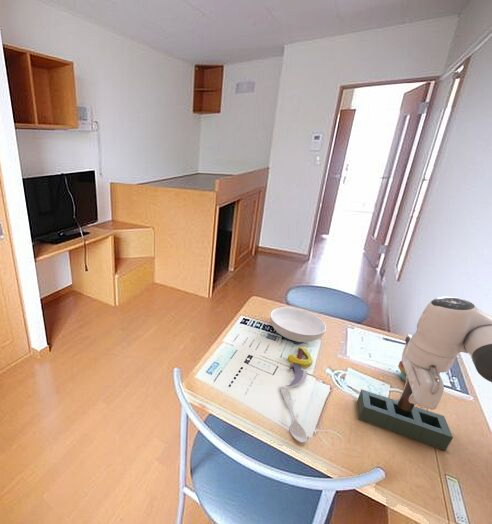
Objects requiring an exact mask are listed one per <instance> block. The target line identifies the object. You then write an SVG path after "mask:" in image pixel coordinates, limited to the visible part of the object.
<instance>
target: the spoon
mask: <svg viewBox="0 0 492 524" xmlns="http://www.w3.org/2000/svg"><path fill="white" fill-rule="evenodd" d="M280 392H281V395H282V397H283V400H284V402H285V404H286V406H287V408H288V409H289V411H290V414H291V416H292V419H293V421H292V423H291V424H290V425H289V433H290V435H291V436H292V437H293V439H294V440H296V441H297V442H299V443H301V444H304V443H306V442H307V439H308V438H307V434H306V431H305V428H304V427H303V426H302V425H301V424H300V423H299V422H298V421H299V420H298V419H297V417H296V415H295V412H294V410H293V405H292V401H291V398H290V394H289V391H288V390H287V389H286V388H285V387H282V388H281V389H280Z"/></svg>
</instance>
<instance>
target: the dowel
mask: <svg viewBox="0 0 492 524" xmlns="http://www.w3.org/2000/svg"><path fill="white" fill-rule="evenodd" d="M405 384H406V383H405ZM404 386H405V385H404ZM409 394H412V390H411V387H410V384H409V380H408V381H407V384H406V386H405V388H404V387H403V390H402V392H401V394H400V397H399V399H398V400H397V401H398V406H399V407H400V408H401V409H402V410H404V411H408V412H410V411H412V409H413V407H414V406H415V405H416V404H412V403H410V402H409V401H408V396H409Z"/></svg>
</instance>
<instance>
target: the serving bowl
mask: <svg viewBox="0 0 492 524" xmlns="http://www.w3.org/2000/svg"><path fill="white" fill-rule="evenodd" d="M269 321H270V324H271V327H272V328H273V330H274V331H276V333H278V334H279V336H282V337H284V338H285V339H288V340H290V341H293V342H297V343H312V342H315V341H317V340H319V339H320V338H322V337H323V336H324V334H325V332H326V331H327V325H326V323H325V322H324V321H323V319H321V318H320V317H319V316H317V315H316V314H314V313H312V312H310V311H307V310H305V309H301V308H297V307H292V306H291V307H290V306H281V307H276V308H274V309H273V310H271V311H270V313H269Z"/></svg>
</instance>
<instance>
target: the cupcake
mask: <svg viewBox="0 0 492 524" xmlns="http://www.w3.org/2000/svg"><path fill="white" fill-rule="evenodd" d="M397 367H398V369H399V371H400V376H401V379H402V380H403V381H404V382H406V376H407V374H406V371H405V368H404V365H403V362H402V360H400V361H398V365H397Z"/></svg>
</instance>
